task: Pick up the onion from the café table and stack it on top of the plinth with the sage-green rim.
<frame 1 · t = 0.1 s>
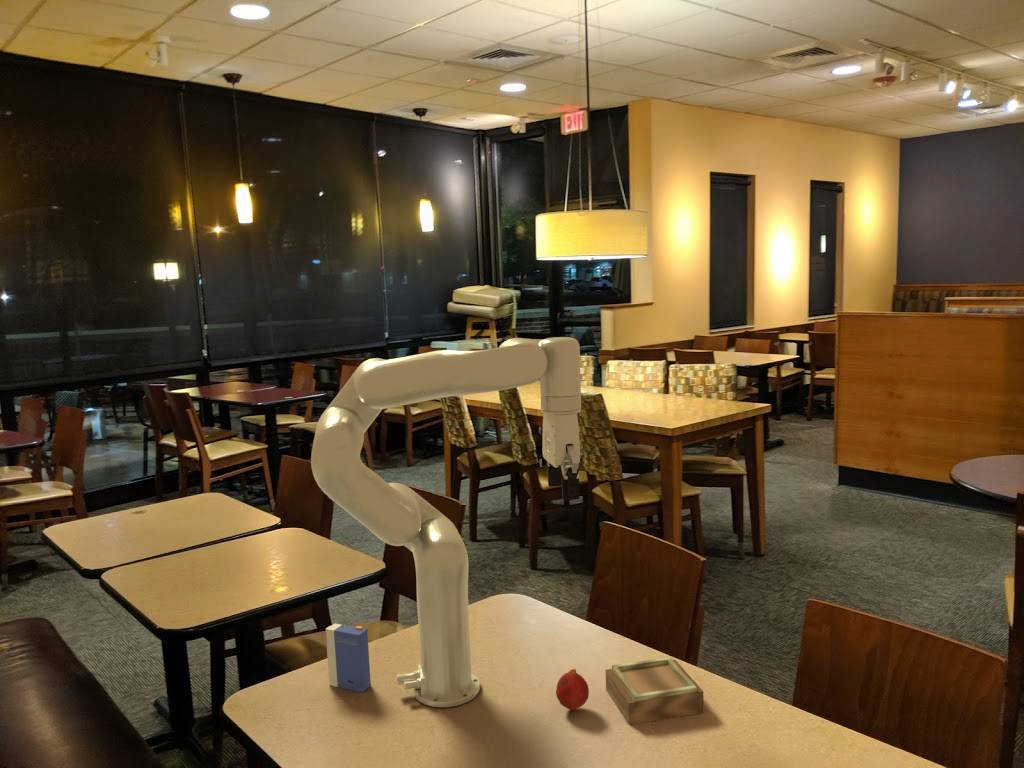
hand: (563, 492, 150), 37 cm above the table, tool pointing down, fingers open, 9 cm apart
plinth: (653, 700, 144), on the table
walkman: (350, 686, 153), on the table
onion: (572, 711, 142), on the table
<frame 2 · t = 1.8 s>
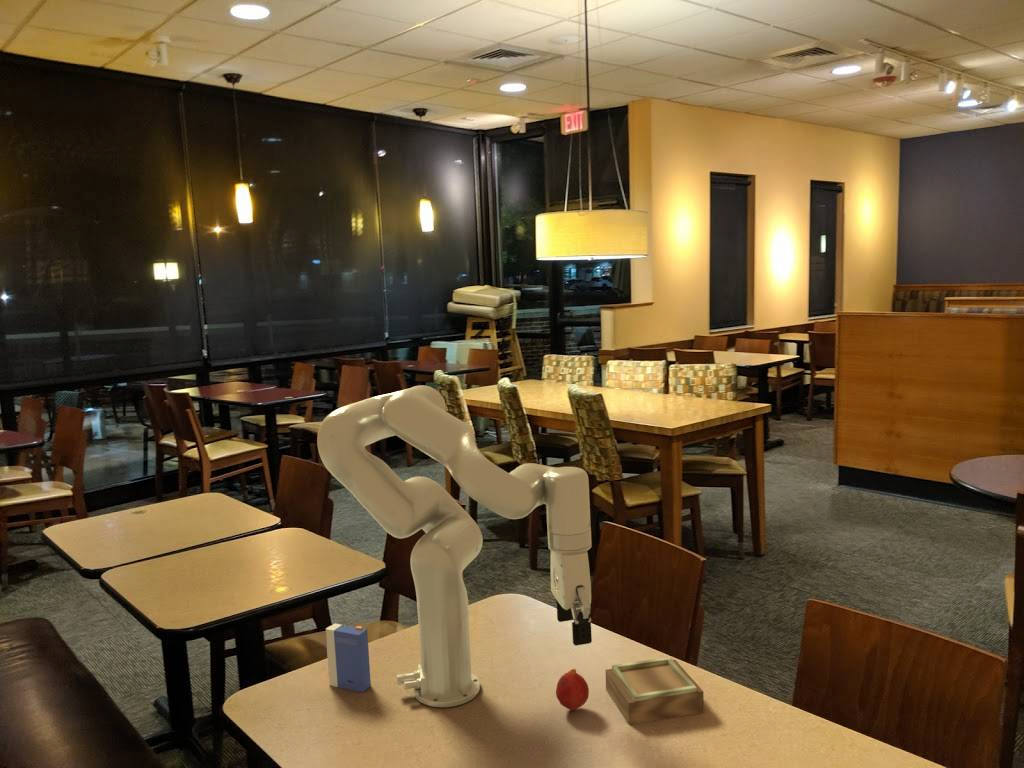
hand: (574, 631, 140), 15 cm above the table, tool pointing down, fingers open, 9 cm apart
nothing on the table moved.
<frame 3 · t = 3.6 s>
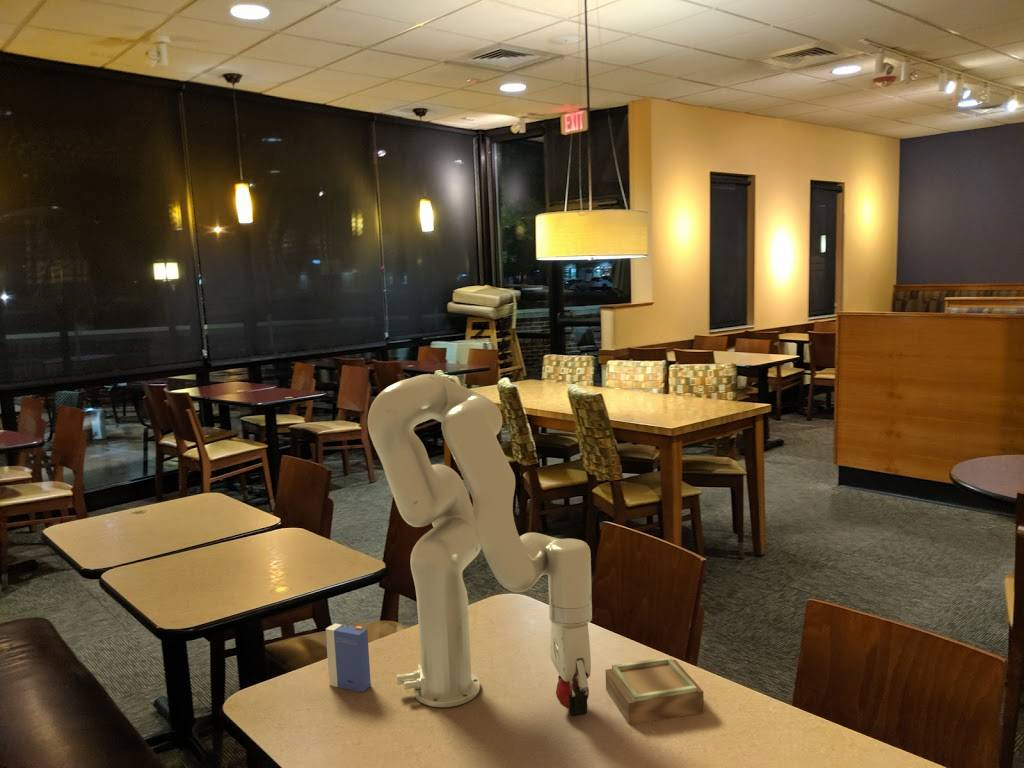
hand: (572, 704, 142), 1 cm above the table, tool pointing down, fingers closed on onion, 5 cm apart
onion: (572, 711, 142), on the table, touching gripper
everything else where it was.
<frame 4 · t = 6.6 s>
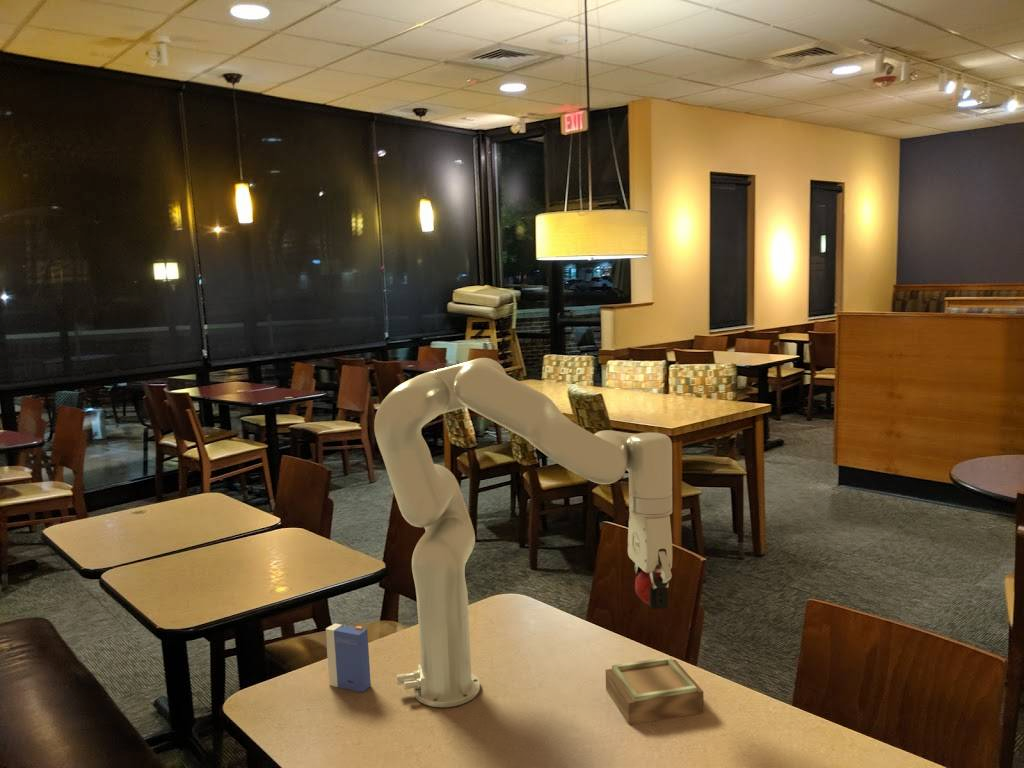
hand: (651, 599, 141), 19 cm above the table, tool pointing down, fingers closed on onion, 5 cm apart
onion: (651, 606, 142), point 18 cm above the table, touching gripper
everything else where it was.
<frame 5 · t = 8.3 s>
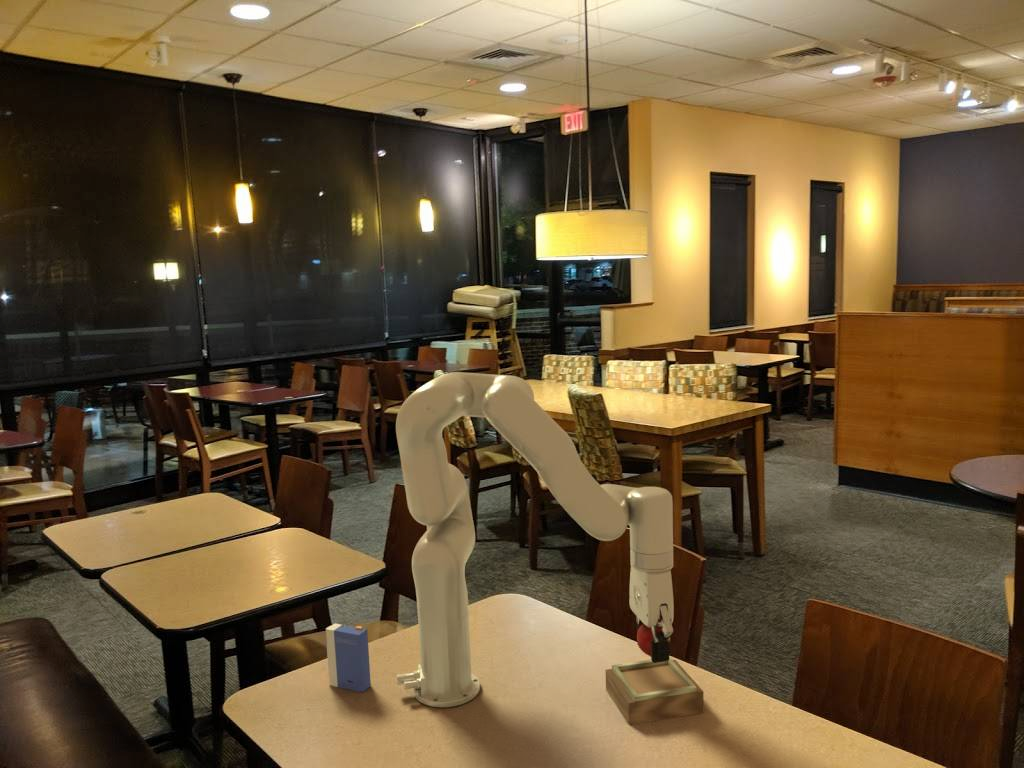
hand: (653, 651, 143), 10 cm above the table, tool pointing down, fingers closed on onion, 5 cm apart
onion: (653, 658, 143), point 8 cm above the table, touching gripper
everything else where it was.
when the fingers open (7 cm above the table, at t = 9.7 s): onion drops 2 cm, resting on plinth.
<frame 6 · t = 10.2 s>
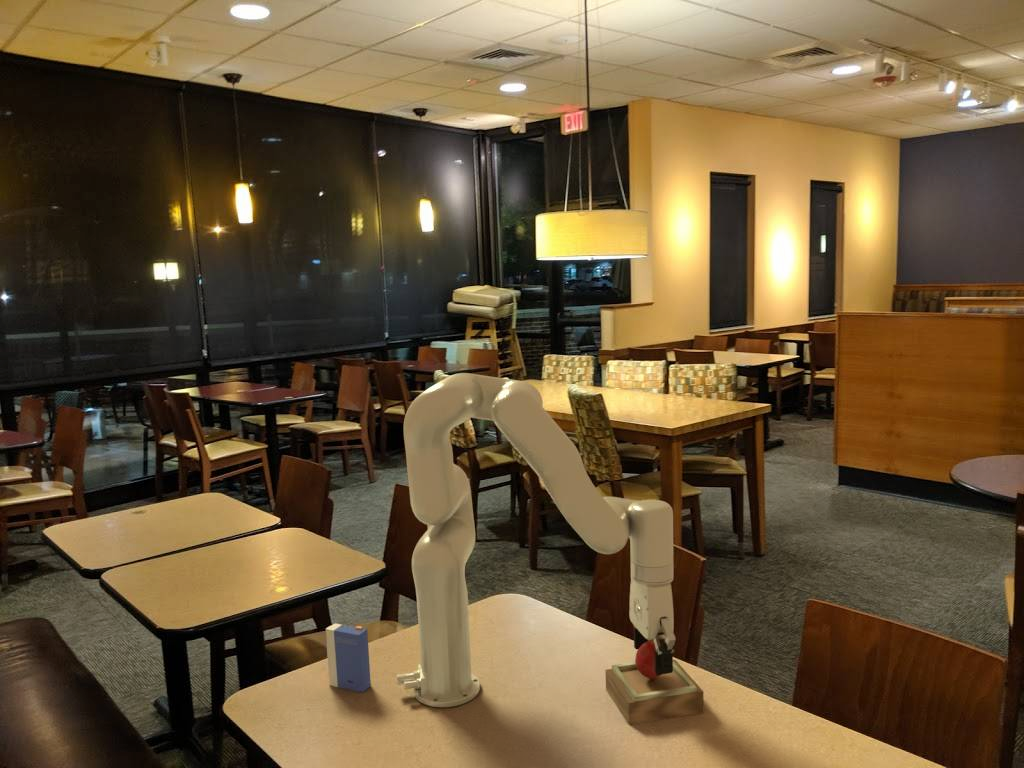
hand: (652, 660, 143), 8 cm above the table, tool pointing down, fingers open, 9 cm apart
onion: (651, 680, 144), point 4 cm above the table, touching plinth
everything else where it was.
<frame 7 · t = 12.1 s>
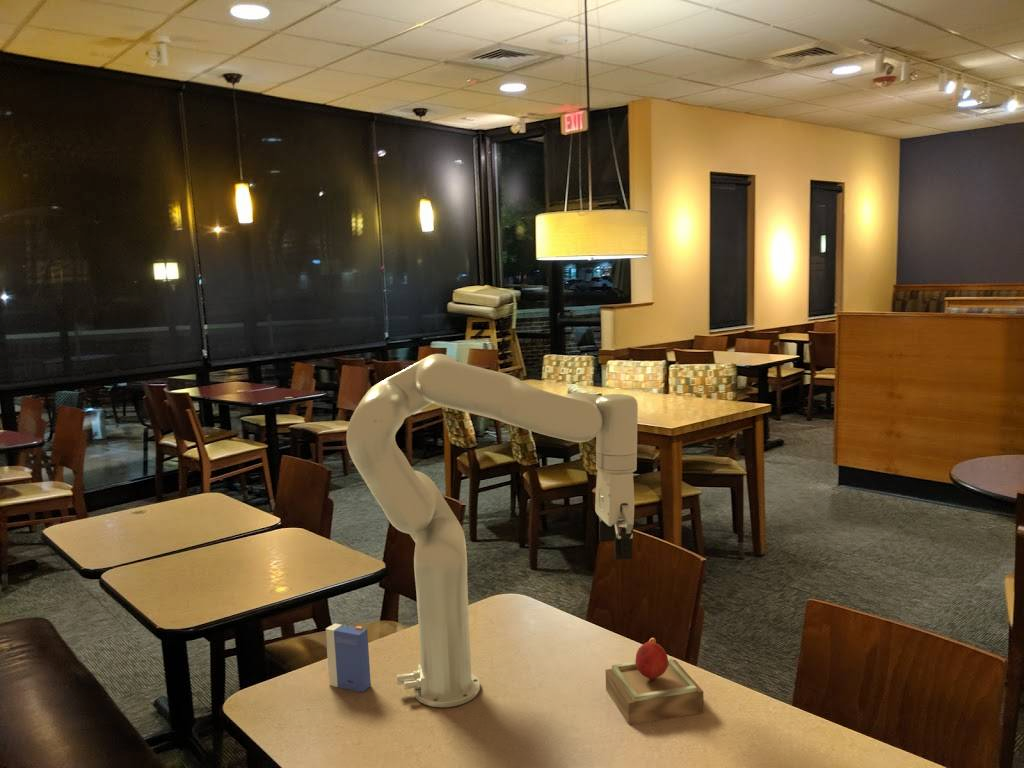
hand: (615, 549, 149), 26 cm above the table, tool pointing down, fingers open, 9 cm apart
nothing on the table moved.
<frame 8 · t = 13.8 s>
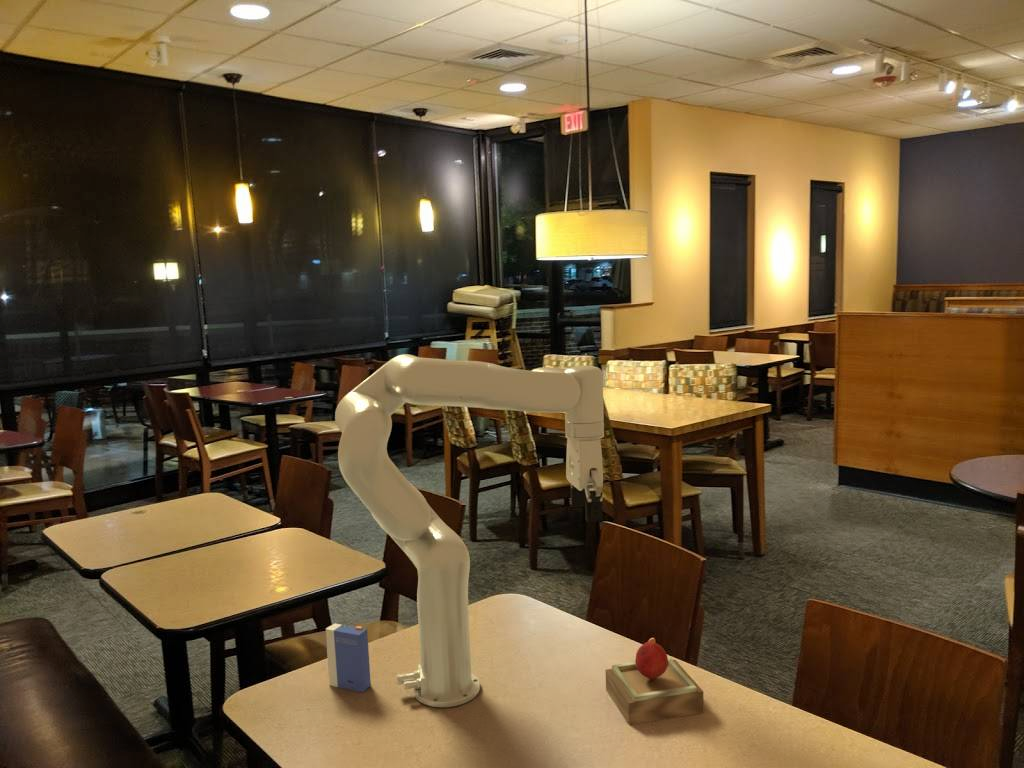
hand: (586, 513, 157), 30 cm above the table, tool pointing down, fingers open, 9 cm apart
nothing on the table moved.
at the end: onion inside the target area on the plinth (0.3 cm from its centre), point 3.8 cm above the plinth's base; onion touching plinth; the gripper is holding nothing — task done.
